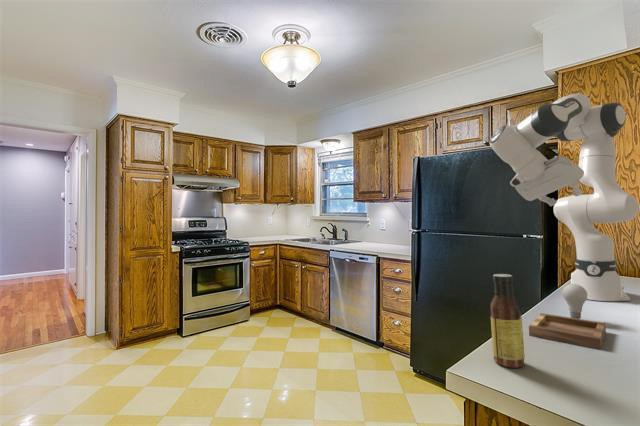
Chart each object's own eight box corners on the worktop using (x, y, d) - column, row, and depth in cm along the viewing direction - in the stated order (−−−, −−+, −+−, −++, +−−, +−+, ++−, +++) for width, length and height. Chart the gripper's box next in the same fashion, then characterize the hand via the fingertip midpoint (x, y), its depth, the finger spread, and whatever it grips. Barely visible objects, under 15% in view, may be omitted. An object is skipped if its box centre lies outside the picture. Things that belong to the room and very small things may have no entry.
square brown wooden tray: (541, 321, 103) (541, 313, 103) (605, 332, 92) (605, 322, 92) (529, 335, 92) (528, 326, 92) (600, 349, 81) (599, 338, 81)
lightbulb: (593, 323, 99) (591, 286, 99) (569, 322, 100) (568, 286, 100) (581, 317, 105) (580, 282, 105) (559, 316, 106) (558, 281, 106)
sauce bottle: (531, 366, 74) (528, 276, 74) (509, 371, 72) (505, 278, 72) (507, 355, 80) (504, 271, 80) (485, 359, 78) (482, 274, 78)
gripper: (566, 147, 97) (602, 181, 96) (516, 174, 117) (545, 203, 115) (555, 159, 95) (592, 194, 94) (506, 185, 115) (536, 215, 113)
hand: (566, 199), depth 105 cm, fingers open, 8 cm apart
